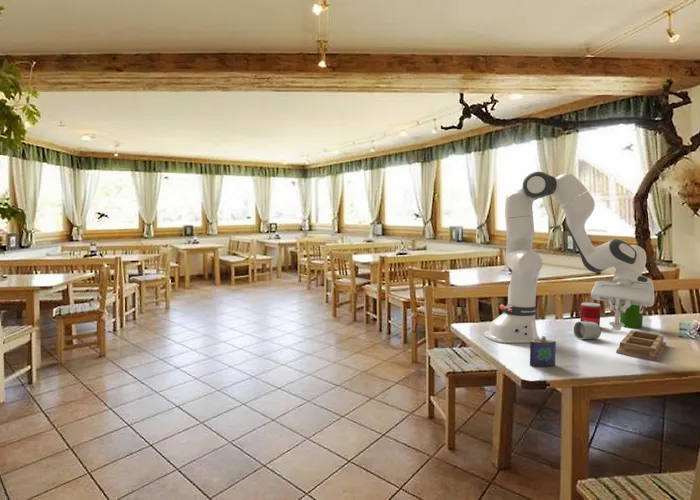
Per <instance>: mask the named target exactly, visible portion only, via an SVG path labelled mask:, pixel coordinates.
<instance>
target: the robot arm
mask: <svg viewBox="0 0 700 500" xmlns="http://www.w3.org/2000/svg"><path fill="white" fill-rule="evenodd" d="M548 196H551V197H553V198H555V200H557V202H558V204H559V206H561V208H562V209H563V211H564V215H565V220H564V221H565V225H566V229H567V231H568V233H569V235H570V237H571V239H572V241H573V243H574V245H575V246H576V249H577V251H578V253H579V255H580V258H581V262H582V264H583V267H584V268H585V269H587V270H588V271H590V272H593V273H601V272H604V271H606V270H607V269H609V268H613V267H614V268H615V272H614V274H613V278H612V279H604V278H603V279H601V278H600V279H598V280H595V281H594V285H593V287H592V290H591V292H590V295H591V297H592V299H593V300H594V301H595V300H596V301H600V302H601V301H603V302H608V304H609V305H610V306H609V311H611V312H615V302H616V296H619V297H620V304H621V303H624V304H625V305H624V306H620V312H623V313H625V311H626V309H628V308H629V307H630V306H631V305H639V306H643V307H648V308H650V307H652V306H654V304H655V292H654V290H655V289H654V288H655V287H654V283H653V280H652V279H651V278H650V277H646V276H643V275H642V274H643V273H644V271H645V267H646V264H647V253H646V251H645V249H644V248H642V247H641V246H640V245H637V244H636V245H634V244H629V243H627V242H626V241H623V240H621V239H611V240H609V241H607V242H604V243H602V244H600V245H597V246H595V245H593V243H592V241H591V239H590V238H589V235H588V234H587V231H586V229H585V226H586V223H587V220H588V219H589V218H590V216H592V214H593V212H594V209H595V207H596V205H595V203H596V202H595V200H594V198H593V196H592V195H591V193H590V192H589V191H588V189H587V188H586V186H585V185H584V184H583V183H582V182H581V180H579V179H578V177H576V176H575V175H574V174H572V173H569V172H566V173H561V174H559V175H557V176H556V177H555V176H553V175H550V174H548V173H546V172H543V171H533V172H531V173H529V174H528V175H526V177H525V178H524V179H523V182H522V188H520V189H518V190H514V191H511V192H509V193H508V194H507V195H506V196H505V197H506V198H505V205H504V206H505V208H504V217H505V226H506V227H505V230H506V243H505V245H506V246H505V262H506V265H507V267H508V268H509V269H510V270H511V277H510V281H509V282H510V283H509V285H508V293H507V294H508V295H507V304H506V305H504V304H500V305H499V309H500V310H503V312H502V314H500V315H499V316H497V317H496V318H494V320H492V321H491V322H490V326H489V331H484V337H486V338H487V339H489V340H491V341H494V342H496V343H501V344H506V343H509V344H511V343H513V344H525V343H527V344H529V343H530V341H532V340H535V339H536V340H539V336H538V335H539V334H538V331H537V324H536V316H537V305H536V300H537V299H536V297H537V296H536V295H537V294H536V293H537V285H538V280H539V277H540V271H541V270H542V268H543V260H542V258H541V256H540V255H539V254H538V252H536V251H535V250H533V240H534V236H535V225H534V224H535V223H534V212H533V203H534V201H536V200H538V199H542V198H545V197H548Z"/></svg>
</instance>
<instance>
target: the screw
mask: <svg viewBox="0 0 700 500" xmlns="http://www.w3.org/2000/svg"><path fill="white" fill-rule="evenodd" d="M614 305H615V311H614V318H613V321H609V323H608V324H609V325H610V326H612V330H614V331H621V329H622V327H624V326H625V325H624V324H623V323H621V322H620V306H621V303H620V297H619V296H616V302H614Z"/></svg>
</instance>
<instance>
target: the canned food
mask: <svg viewBox="0 0 700 500" xmlns="http://www.w3.org/2000/svg"><path fill="white" fill-rule="evenodd" d="M600 320H601V304H600V303H596V302H586V301H585V302H582V303H581V304H580V321H582V322H594V323H597V324H598V325H599V326H600V327H601V321H600Z"/></svg>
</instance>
